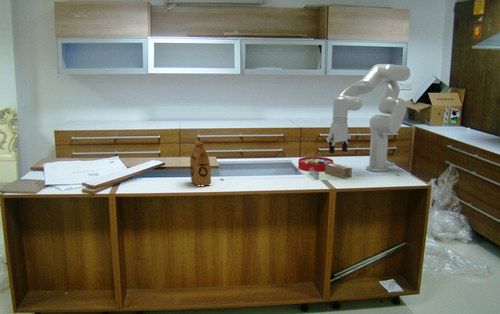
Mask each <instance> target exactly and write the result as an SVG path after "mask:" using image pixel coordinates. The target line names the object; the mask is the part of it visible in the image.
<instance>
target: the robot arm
mask: <svg viewBox="0 0 500 314" xmlns="http://www.w3.org/2000/svg"><path fill="white" fill-rule="evenodd" d="M410 77H411V69H410V68H409V67H408V66H407V65H403V64H402V65H399V64H393V63H378V64H375V65H373V66H372V67H371V68H370V69H369V70H368V72H366V73H365V75H364V76H363V77H362V78H361V79H360V80H359V81H357V82H355V83H353V84H352V85H350V86H348V87H346V88H345V89H344V90H343V91H342V92H341V93H340V95H339V96H336V97H334V98H333V105H332V107H333V109H332V122H331V124H330V127H329V133H328V134H329V135H328V136H327V137H326V138H325V139H326V142H327V144H328V153H329V154H332V155H333V154H335V144H336V143H342V144H341V145H342V146H341V151H342V152H344V153H347V152H348V145H349V142H350V141H351V137H352V136H351V135H350V134H349V125H348V124H349V123H348V113H349V111H352V112H353V111H354V112H356V111H359V110H361V108H362V107H363V100H362V99H361V98H360V97H358V96H361V95H365V94H369V93H371V92H373V91H374V89H375V88H377V86H378V85H379V84H380V83H381V81H383V84H384V89H383V93H382V95H381V98H380V101H379V104H378V112H379V113H381V114H375V115H372V117H371V118H370V120H369V129H370V144H369V145H370V146H369V164H368V165H366V167H365V168H366V170H367V171H371V172H376V173H377V172H383V173H384V172H388V171H389V170H390V168H389V167H395V162H389V161H387V159H388V158H387V157H388V146H389V143H388V142H389V140H388V139H389V138H388V135H387V134H393V135H394V134H397V133H398V131H399V130H400V128H401V125H402V124H403V121H404V119H405V116H406V113H407V105H408V104H407V101H406V100H405V99H403V98H400V97H399V95H400V93H401V92H400V91H401V90H400V85H399V83H398V82H406V81H407V80H409V78H410ZM383 114H384V115H383Z"/></svg>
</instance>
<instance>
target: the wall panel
mask: <svg viewBox="0 0 500 314" xmlns="http://www.w3.org/2000/svg"><path fill="white" fill-rule="evenodd" d="M303 175H305V176H306V177H307V178H308V179H310V180H311V181H312V182H316V181H333V180H335V181H336V180H343V179H342V178H339V177H335V176H332V175H328V174H325V172H319V180H317V179H316V178H314V177H313V176H312V175H311V174H310V172H304V173H303ZM352 179H359V177H358V176H357V175H355V174H354V173H352V177H350V178H345V179H344V180H352Z"/></svg>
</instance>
